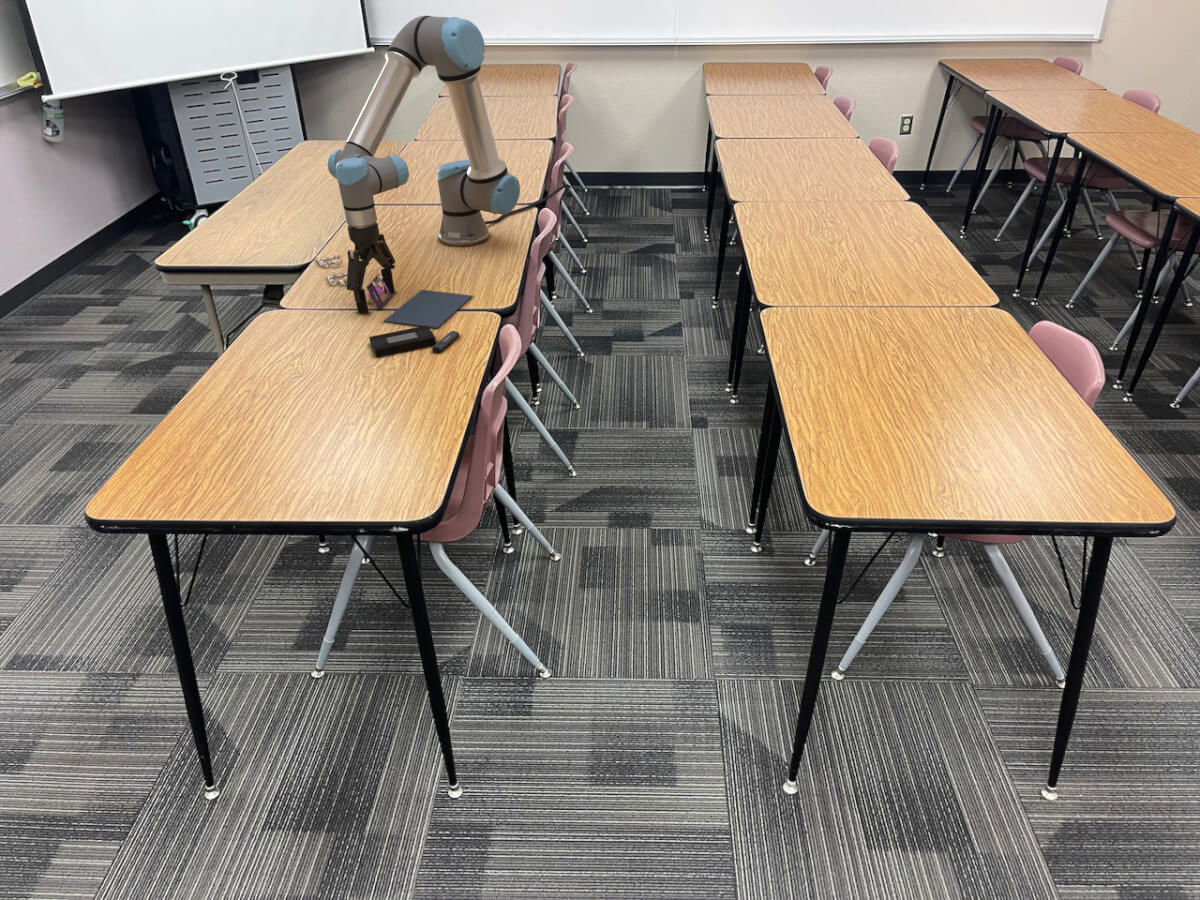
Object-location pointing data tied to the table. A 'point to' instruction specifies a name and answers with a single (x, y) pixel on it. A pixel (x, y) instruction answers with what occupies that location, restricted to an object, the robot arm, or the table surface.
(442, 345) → the usb stick
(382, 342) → the vhs tape
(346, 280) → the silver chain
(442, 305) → the mat
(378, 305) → the game card
